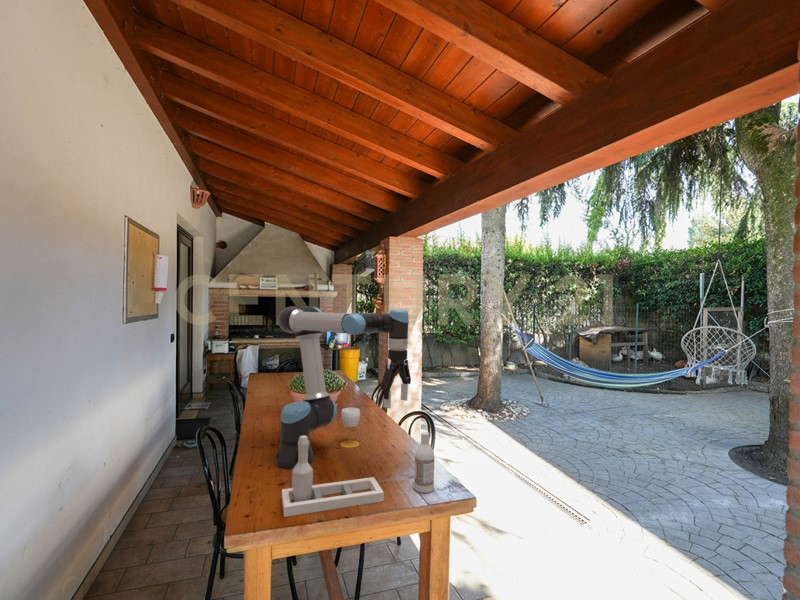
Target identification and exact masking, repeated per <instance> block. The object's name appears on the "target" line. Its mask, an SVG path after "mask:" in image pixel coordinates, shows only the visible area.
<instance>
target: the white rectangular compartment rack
mask: <svg viewBox="0 0 800 600" xmlns="http://www.w3.org/2000/svg"><path fill="white" fill-rule="evenodd" d="M363 490H369V491H365V492H364V491H363ZM356 491H363V492H358V493H357V492H356ZM353 492H356V493H353ZM335 494H336V495H337V494H342V495H337V496H336V495H335ZM329 495H335V496H330V497H323V496H329ZM384 496H385V492H384V491H383V489H382V487H381V486H380V484H379V482H378V481H377V480H376V478H375V476H371V477H364V478H358V479H349V480H343V481H334V482H327V483H320V484H319V483H318V484H312V491H311V498H312V499H310V500H308V501H301V502H294V497H293V487H289V488H282V489H281V503H282V512H283V517H284V518H287V517H293V516H299V515H305V514H312V513H317V512H325V511H331V510H338V509H344V508H350V507H356V506H357V505H358V506H362V505H369V504H370V505H371V504H376V502H377V503H382V501H383V502H384V498H385V497H384ZM291 501H293V502H291Z"/></svg>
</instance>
